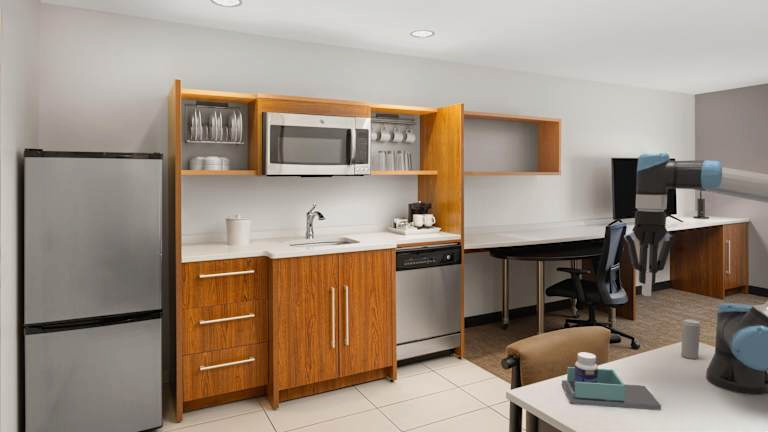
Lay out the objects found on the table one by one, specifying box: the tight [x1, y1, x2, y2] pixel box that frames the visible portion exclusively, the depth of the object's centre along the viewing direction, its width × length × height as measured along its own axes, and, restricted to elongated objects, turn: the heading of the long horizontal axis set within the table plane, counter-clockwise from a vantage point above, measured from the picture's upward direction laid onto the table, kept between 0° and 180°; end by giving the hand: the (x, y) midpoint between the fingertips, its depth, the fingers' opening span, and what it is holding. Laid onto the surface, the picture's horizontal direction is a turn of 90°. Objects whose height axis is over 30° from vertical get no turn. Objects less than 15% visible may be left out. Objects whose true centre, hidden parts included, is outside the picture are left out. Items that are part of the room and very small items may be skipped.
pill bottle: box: [574, 351, 599, 389], centre depth 136 cm, size 6×6×10 cm
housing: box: [566, 366, 626, 401], centre depth 135 cm, size 12×11×4 cm
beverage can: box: [681, 318, 701, 360], centre depth 164 cm, size 5×5×12 cm
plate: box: [561, 379, 662, 411], centre depth 135 cm, size 22×12×2 cm, turn 81°
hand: (646, 294), depth 139 cm, fingers closed
